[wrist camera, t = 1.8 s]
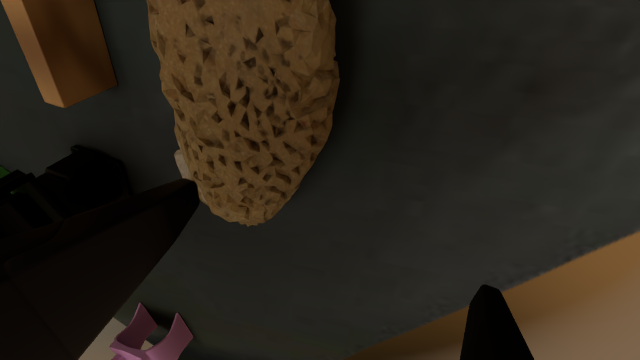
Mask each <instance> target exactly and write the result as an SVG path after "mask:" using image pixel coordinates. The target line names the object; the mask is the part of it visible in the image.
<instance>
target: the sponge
mask: <svg viewBox="0 0 640 360" xmlns="http://www.w3.org/2000/svg"><path fill="white" fill-rule="evenodd" d="M147 5H148V15H149V29H150V37H151V43H152V46H153V49H154V51H155V52H156V54H157V55H158V57H159V60H160V64H161V65H160V66H161V70H160V75H159V77H160V79H161V81H162V92H163V94H164V95H165V97H166V98H167V100H168V101H169V103H170V104H171V106H172V108H173V109H174V116H175V128H174V131H175V135H176V138H177V141H178V144H179V147H180V150H177V151H176V153H175V154H174V156H175V160H176V163H177V166H178V168H179V171H180V173H181V175H182V178H187V179H190V180H192V181H195V182H196V184H197V187H198V193H199V198H200V200H201V201H203V202H204V203H205V204H206V205H208V206H209V207H210V209H211V212H212V213H213V214H215V215H218V216H220V217H222V218H223V219H225V220H227V221H228V222H235V221H238V222H239V223H240V224H246V225H247V226H251V225H258V223H265V221H267V220H269V219H271V218H272V217H273V216H274V215H276V214H277V212H278V211H279V210H280V209H281V208H282V207H283V205H284V204H285V203H286V202H287V201H289V200H290V199H291V196H292V195H293V194H294V193H295V191H296V190H297V189H298V188H299V185H300V183H301V180H302V179H303V177H304V176H305V175H306V173H307V172H308V171H309V169H310V168H311V167H312V165H313V163H314V162H315V160H316V158H317V155H318V154H319V152H320V151H321V150H322V148H323V147H324V145H325V143H326V141H327V139H328V136H329V134H330V131H331V128H332V112H333V109H334V104H335V101H336V96H337V91H338V87H339V82H340V78H339V70H338V62H337V61H334V60H333V58H334V57H335V56H336V53H335V24H336V17H335V15H334V12H333V10H332V8H331V4H330V1H329V0H147Z"/></svg>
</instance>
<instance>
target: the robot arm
mask: <svg viewBox="0 0 640 360" xmlns="http://www.w3.org/2000/svg"><path fill="white" fill-rule="evenodd" d="M71 151H72V154H70V155H69V156H67V157H65V158H63V159H61V160H60V161H58V162H56V163H54V164H53V165H51V166H49V167H47V168H46V169H45V172H46V173H44V174H42V175H40V176H39V177H37V178H35V176H34V175H33V174H32V173H29V174H25V173H23V172H21V171H19V170H15V171H13V172H11V173H9V174H8V175H6V176H4V177H2V178H0V360H78V359H79V358H80V356H81V355H82V354H83V353H84V352H85V350H86V349H87V348H88V347H89V346H90V344H91V343H92V342H93V341H94V340H95V338H96V337H97V336H98V335H99V333H100V332H101V331H102V330H103V329H104V327H105V326H106V325H107V324H108V323H109V321H110V320H111V319H112V318H113V316H114V315H115V314H116V313H117V312H118V310H119V309H120V308H121V307H122V306H123V304H124V303H125V302H126V301H127V299H128V298H129V297H130V296H131V295H132V293H133V292H134V291H135V290H136V289H137V287H138V286H139V285H140V284H141V282H142V281H143V280H144V279H145V278H146V276H147V275H148V274H149V273H150V272H151V270H152V269H153V268H154V267H155V265H156V264H157V263H158V262H159V261H160V259H161V258H162V257H163V256H164V255H165V253H166V252H167V251H168V250H169V248H170V247H171V246H172V245H173V243H174V242H175V241H176V239H177V238H178V236H179V235H180V233H181V232H182V230H183V229H184V227H185V226H186V224H187V223H188V221H189V220H190V218H191V217H192V215H193V214H194V212H195V211H196V209H197V208H198V206H199V203H200V198H199V193H198V187H197V184H196V182H195V181H192V180H190V179H187V178H182V179H179V180H176V181H173V182H170V183H167V184H164V185H162V186H159V187H156V188H153V189H150V190H147V191H144V192H141V193H138V194H135V195H133V196H132V193H131V190H130V186H129V183H128V180H127V177H126V174H125V171H124V168H123V165H122V163H121V162H120V161H118V160H116V159H113V158H110V157H107V156H105V155H102V154H99V153H96V152H93V151H91V150H88V149H85V148H82V147H80V146H77V145H74V146H72V147H71ZM11 191H13V192H14V194H11V193H10V192H11ZM460 360H534V358H533V356H532V354H531V352H530V350H529V348H528V346H527V344H526V342H525V340H524V338H523V336H522V334H521V332H520V330H519V328H518V326H517V324H516V322H515V320H514V318H513V316H512V313H511V311H510V309H509V307H508V306H507V303H506V301H505V299H504V297H503V295H502V293H501V292H500V290H499V289H497V288H494V287H491V286H488V285H485V284H484V285H482V286H481V287H480V288H479V290H478V291H477V293H476V294H475V296H474V298H473V299H472V301H471V303H470V306H469V310H468V316H467V322H466V328H465V333H464V339H463V345H462V350H461V356H460Z"/></svg>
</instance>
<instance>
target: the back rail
mask: <svg viewBox="0 0 640 360" xmlns="http://www.w3.org/2000/svg"><path fill="white" fill-rule="evenodd" d="M1 2H2V4H3V6H4V9H5V11H6V13H7V16H8V18H9V20H10V23H11V25H12V27H13V30H14V32H15V34H16V36H17V39H18V41H19V43H20V46H21V48H22V50H23V53H24V55H25V57H26V60H27V62H28V64H29V66H30V69H31V71H32V73H33V76H34V78H35V80H36V83H37V85H38V87H39V90H40V92H41V94H42V96H43V99H44V101H45V102H47V103H50V104H53V105H56V106H59V107H62V108H67V107H69V106H71V105H73V104H76V103H78V102H80V101H82V100H85V99H87V98H89V97H92V96H94V95H96V94H98V93H101V92H103V91H105V90H107V89H110V88H112V87H114V86H116V85H117V81H116V78H115V74H114V71H113V67H112V64H111V60H110V57H109V53H108V49H107V46H106V42H105V39H104V35H103V32H102V28H101V25H100V21H99V17H98V14H97V10H96V7H95V3H94V0H1Z"/></svg>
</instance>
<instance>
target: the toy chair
mask: <svg viewBox="0 0 640 360" xmlns="http://www.w3.org/2000/svg"><path fill="white" fill-rule="evenodd" d="M157 327H158V326H157V324H156V323H155V321H154V320H153V319H152V317H151V316H150V314H149V313H148V311H147V310H146V309H145V307H144V306H143V305H142V303H139V305H138V308H137V311H136V313H135V315H134V318H133V319H132V321H131V323H130V324H129V325H128V326H127V327H126V328H125V329H124V330H123V331H122V332H121V333H119V334H118V335H117V336H116V338H115V339H114V342H113V343H112V344H111V345H110V348H111V349H112V350H113V352H115V353H116V354H117V355H116V356H115V357H114V358H113V359H112V360H177V359H178V357H179V356H180V354H181V352H182V351H183V349H184V348H185V347H186V346H187V344H188V343H189V342H190V341H191V340H192V338H193V335H192V334H191V332H190V331H189V329H188V327H187V326H186V324H185V323H184V321H183V320H182V318H181V316H180V315H179V314H178V313H176V315H175V319H174V322H173V325H172V327H171V330H170V331H169V333H168V335H167V336H166V337H165V338H164V339H163V340H162V341H161V342H159V343H158V344H156V345H154V346H152V347H151V348H149V349H147V350H140V349H141V347H142V345H143V343H144V341H145V340H146V338H147V337H148V336H149V335H150V333H151V332H152V331H153V330H155V329H156V328H157Z"/></svg>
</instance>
